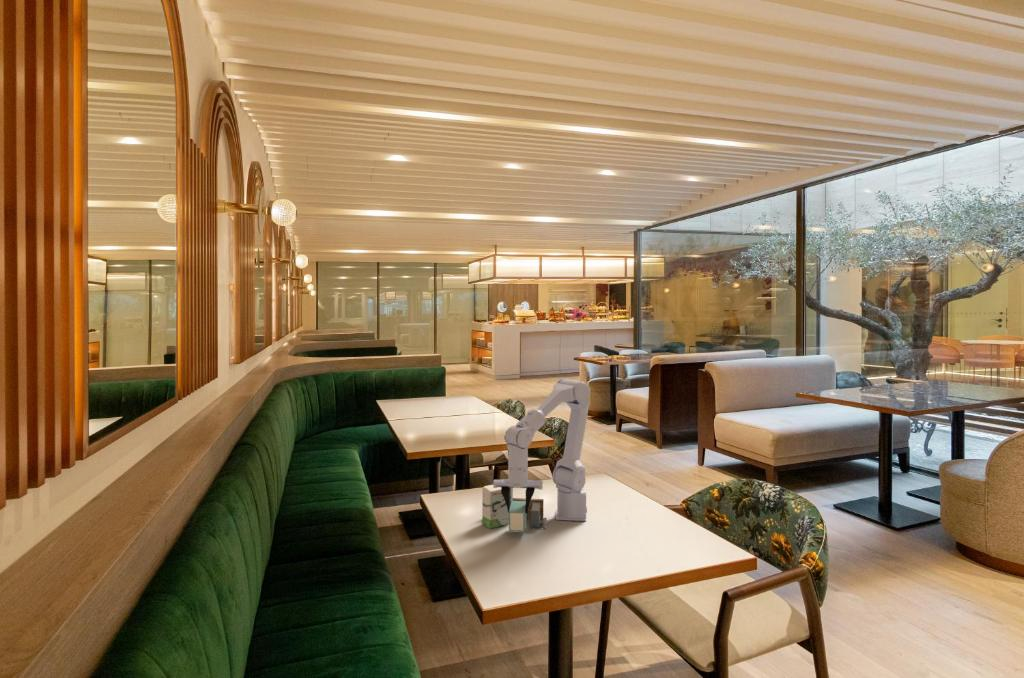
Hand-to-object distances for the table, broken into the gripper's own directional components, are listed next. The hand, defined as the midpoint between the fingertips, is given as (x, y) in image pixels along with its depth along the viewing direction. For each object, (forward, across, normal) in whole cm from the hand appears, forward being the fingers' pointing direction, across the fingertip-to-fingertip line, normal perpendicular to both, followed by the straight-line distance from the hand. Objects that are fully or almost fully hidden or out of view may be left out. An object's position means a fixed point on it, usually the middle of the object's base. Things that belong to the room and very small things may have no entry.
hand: (517, 511), depth 173 cm
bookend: (+7, +5, +8) cm, 11 cm away
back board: (+7, -2, +13) cm, 14 cm away
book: (+4, 0, 0) cm, 4 cm away
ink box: (+7, -7, +7) cm, 12 cm away
